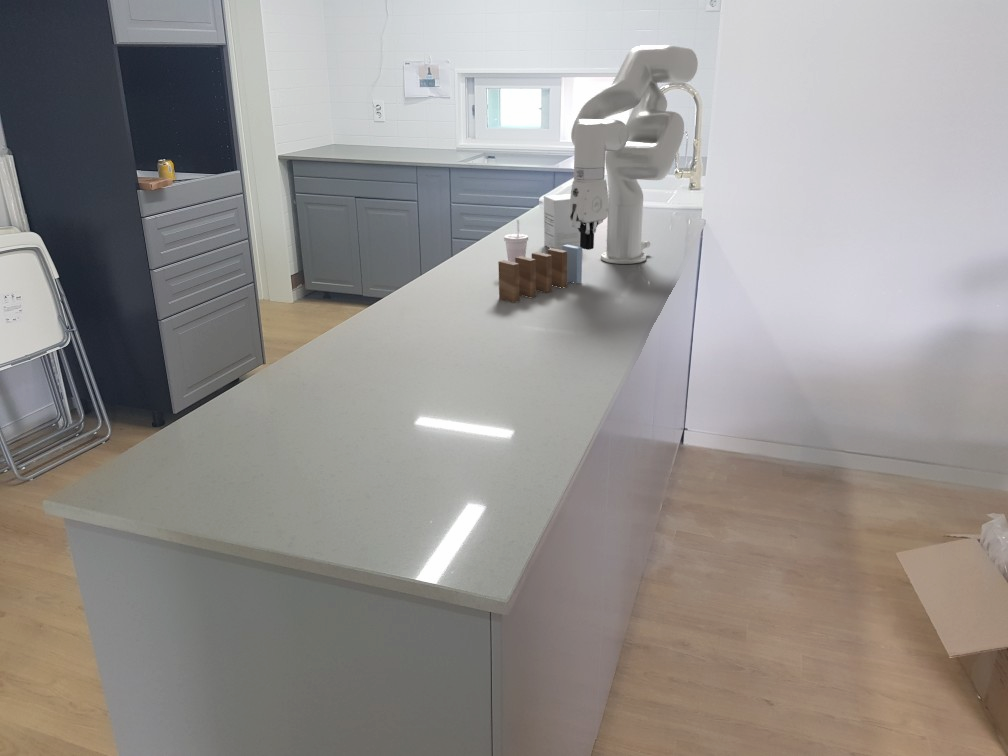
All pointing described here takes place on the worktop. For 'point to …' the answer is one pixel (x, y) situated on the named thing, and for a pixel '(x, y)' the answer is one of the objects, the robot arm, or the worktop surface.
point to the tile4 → (527, 276)
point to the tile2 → (558, 267)
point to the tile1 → (573, 263)
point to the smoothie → (516, 244)
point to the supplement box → (559, 223)
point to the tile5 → (508, 281)
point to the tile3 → (543, 271)
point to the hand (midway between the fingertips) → (586, 248)
